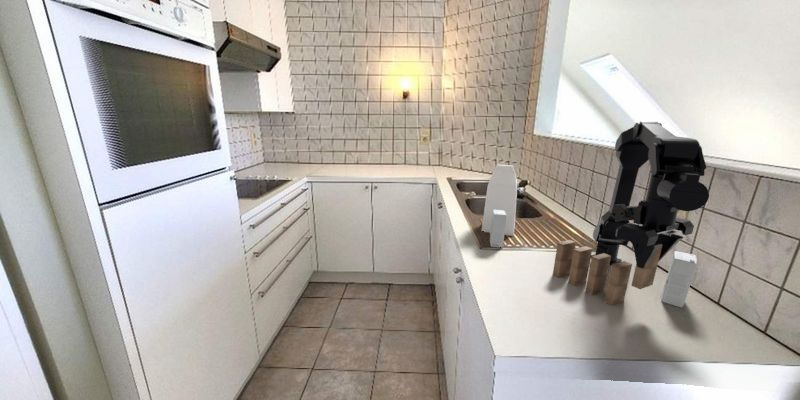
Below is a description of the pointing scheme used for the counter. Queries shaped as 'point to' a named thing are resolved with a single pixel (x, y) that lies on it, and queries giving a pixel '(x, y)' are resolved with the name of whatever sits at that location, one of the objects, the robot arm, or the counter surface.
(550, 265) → the counter surface
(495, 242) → the skincare box
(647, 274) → the domino
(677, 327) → the counter surface
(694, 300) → the counter surface
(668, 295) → the skincare box
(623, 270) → the domino
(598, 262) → the domino
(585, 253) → the domino
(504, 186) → the milk
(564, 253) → the domino
